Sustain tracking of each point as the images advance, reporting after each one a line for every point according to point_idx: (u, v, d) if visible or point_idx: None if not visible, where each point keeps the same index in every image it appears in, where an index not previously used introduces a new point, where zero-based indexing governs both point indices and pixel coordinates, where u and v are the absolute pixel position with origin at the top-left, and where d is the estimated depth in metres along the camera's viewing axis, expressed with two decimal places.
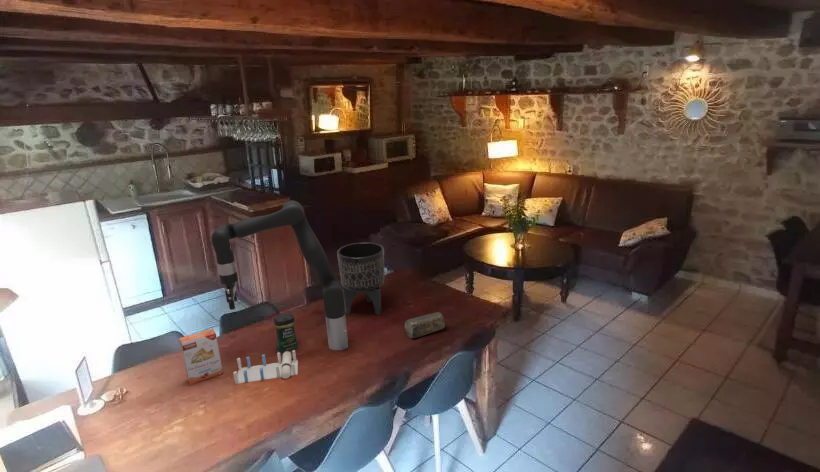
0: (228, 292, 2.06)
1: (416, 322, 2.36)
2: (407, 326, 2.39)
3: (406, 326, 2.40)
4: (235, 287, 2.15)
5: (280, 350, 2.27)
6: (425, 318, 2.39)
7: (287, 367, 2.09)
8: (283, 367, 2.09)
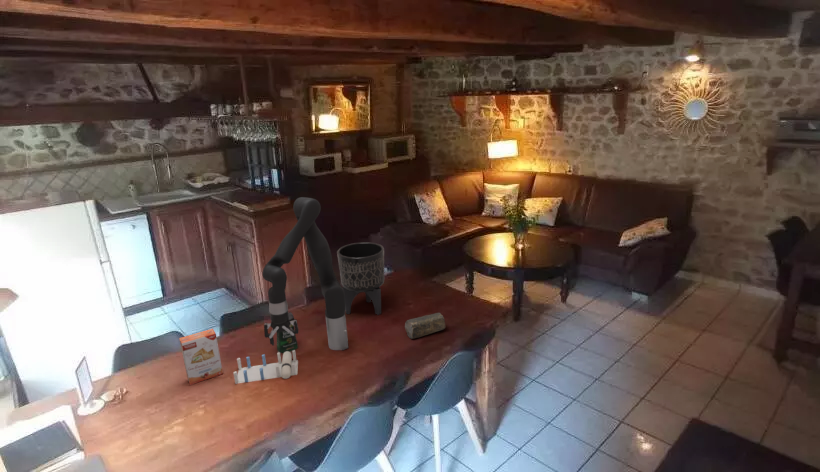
0: (296, 322, 2.09)
1: (416, 323, 2.35)
2: (407, 326, 2.39)
3: (406, 326, 2.39)
4: None
5: (280, 350, 2.27)
6: (425, 318, 2.39)
7: (287, 367, 2.09)
8: (283, 367, 2.09)
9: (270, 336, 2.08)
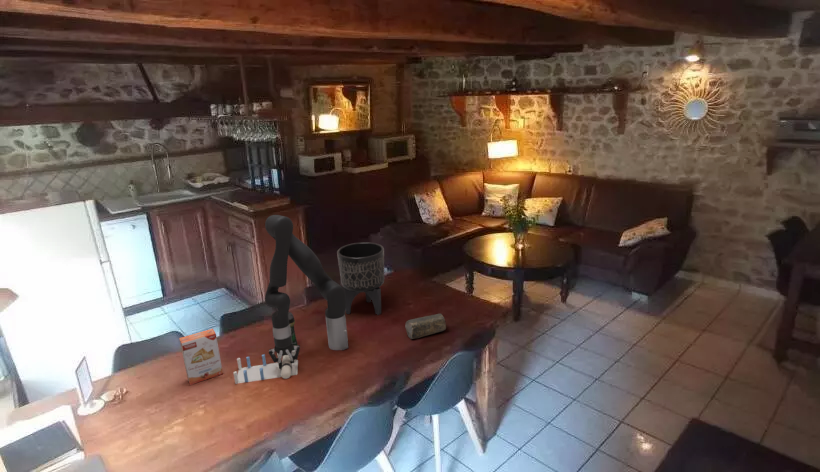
0: None
1: (416, 323, 2.35)
2: (407, 327, 2.38)
3: (407, 326, 2.39)
4: None
5: None
6: (426, 319, 2.38)
7: (287, 367, 2.09)
8: (283, 367, 2.09)
9: (279, 361, 2.12)
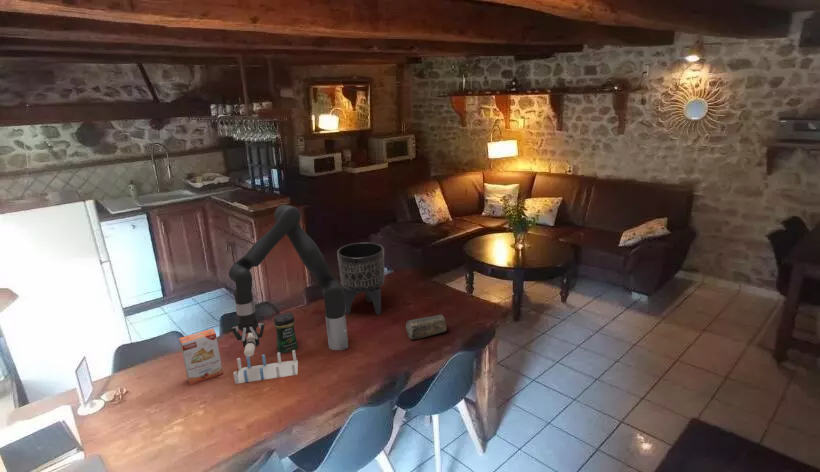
0: None
1: (417, 324, 2.34)
2: (407, 327, 2.38)
3: (407, 327, 2.39)
4: None
5: (280, 350, 2.27)
6: (426, 320, 2.38)
7: (251, 345, 2.02)
8: (247, 345, 2.03)
9: (243, 339, 2.05)
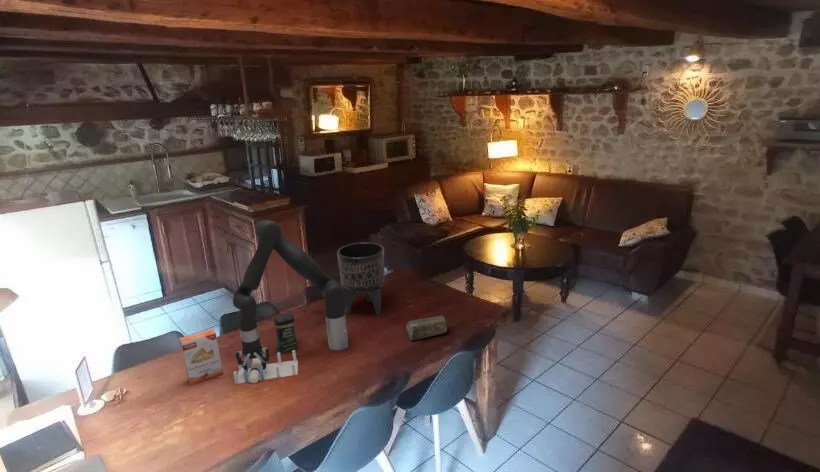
0: (268, 350, 2.11)
1: (417, 325, 2.34)
2: (408, 328, 2.37)
3: (407, 327, 2.38)
4: None
5: (280, 350, 2.27)
6: (427, 320, 2.37)
7: (255, 372, 2.07)
8: (251, 371, 2.07)
9: (244, 363, 2.09)
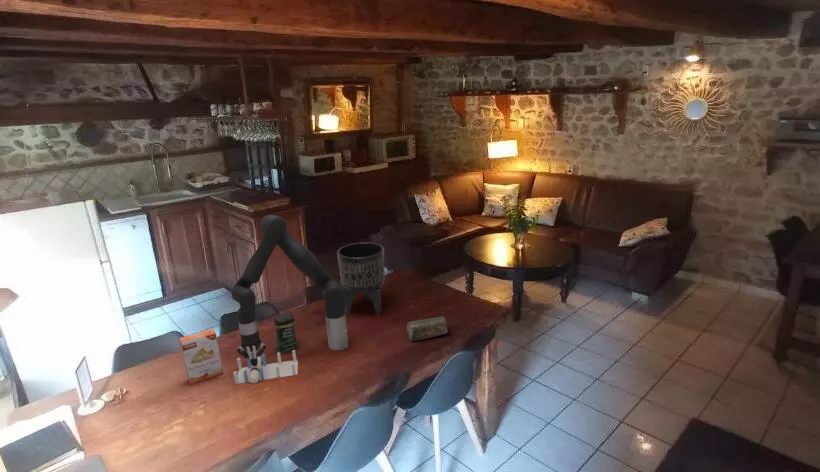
0: None
1: (417, 325, 2.33)
2: (408, 328, 2.37)
3: (408, 328, 2.38)
4: None
5: (280, 350, 2.27)
6: (427, 321, 2.36)
7: (255, 372, 2.07)
8: (251, 371, 2.07)
9: (250, 357, 2.09)
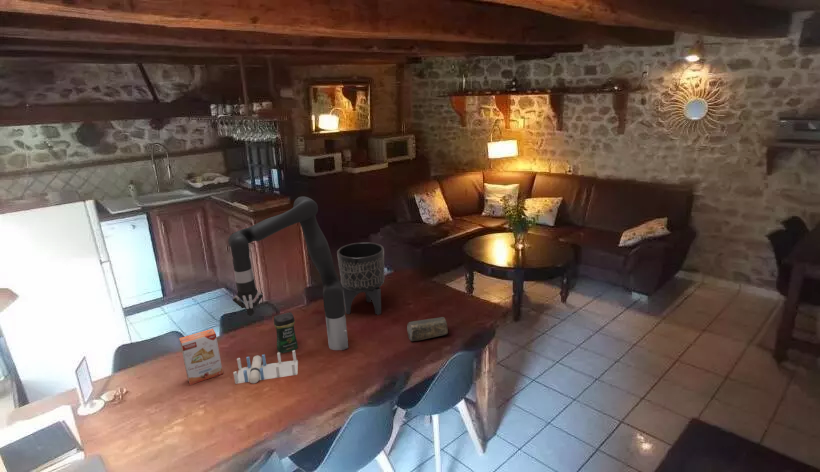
0: None
1: (417, 326, 2.33)
2: (408, 328, 2.37)
3: (408, 328, 2.37)
4: None
5: (280, 350, 2.27)
6: (427, 322, 2.35)
7: (256, 372, 2.07)
8: (252, 371, 2.07)
9: (247, 306, 2.08)
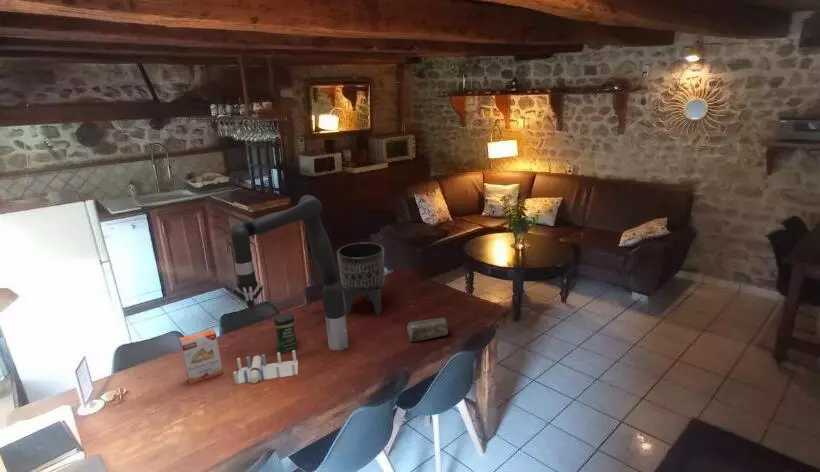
0: None
1: (417, 326, 2.32)
2: (408, 329, 2.36)
3: (408, 328, 2.37)
4: None
5: (280, 350, 2.27)
6: (427, 322, 2.35)
7: (256, 372, 2.07)
8: (252, 371, 2.07)
9: (247, 298, 2.09)
